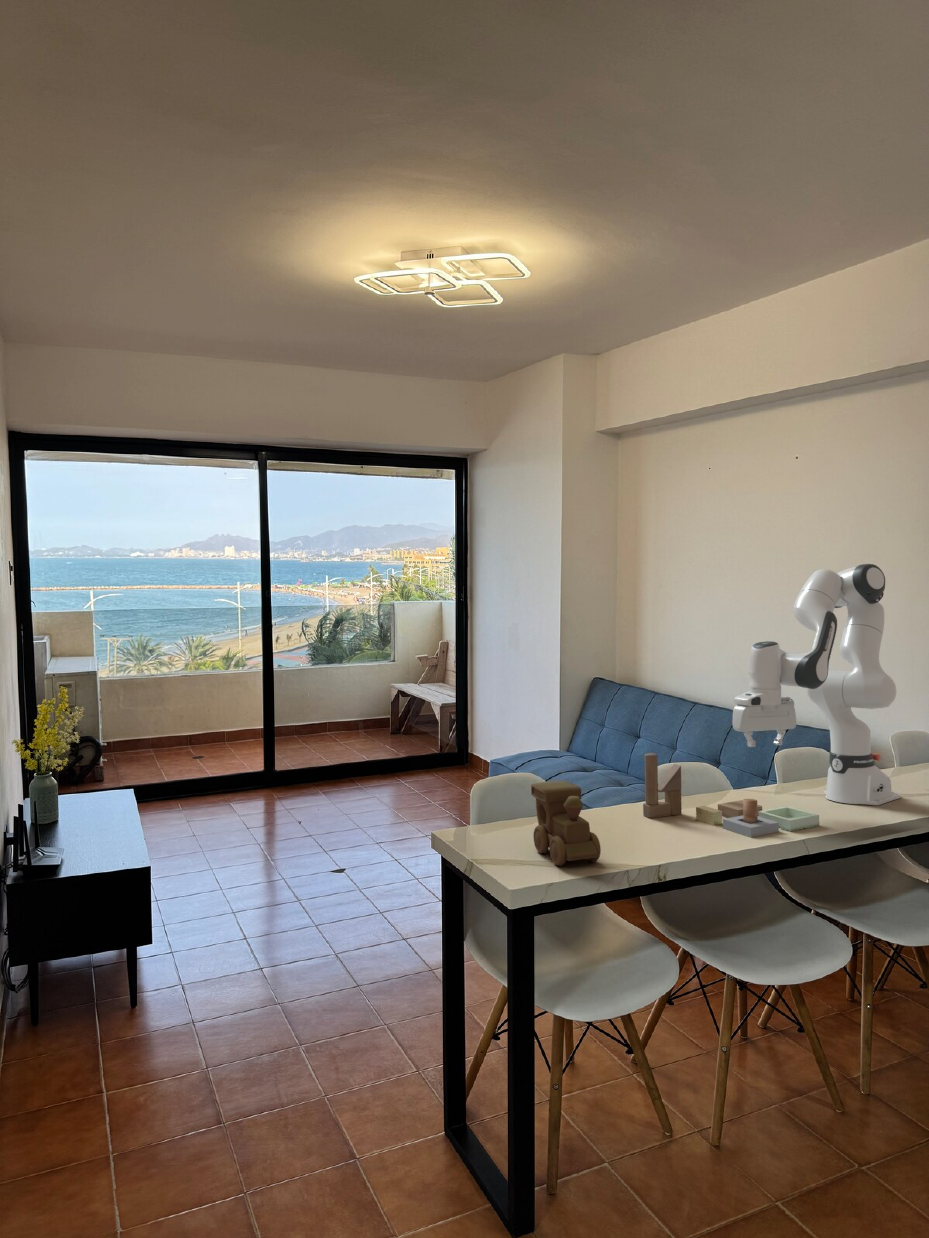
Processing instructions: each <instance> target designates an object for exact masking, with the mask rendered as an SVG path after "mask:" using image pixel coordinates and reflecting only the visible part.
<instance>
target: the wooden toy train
mask: <svg viewBox="0 0 929 1238" xmlns="http://www.w3.org/2000/svg"><path fill="white" fill-rule="evenodd" d="M530 786H531V787H530V790H531V792H530V793H531V794H530V795H531V796H532V797H533V798H535V810H536V818H537V823H538V824H537V825H536V826H535V828H534V830H533V835H532V837H533V843H534V846H535V849H536V851H537V852H538V853H539V852H540V853H539V854H542V853H544V854H545V853H547V852H548V851H549V854H550V858H551V860H552V862H553V863H554V865H555V866H559V867H562V866H563V865H565V863H566V861H567V862H572V861H580V860H587V859H588V861H590V862H592V861H595V862H597V861H598V860H599V859H600V856H601V850H602V849H601V843H600V840H599V837H598V835H596V833H594V832H592V831H591V827H590V822H589V821H587V820H586V819H585V818H583V817H582V816H580V814H581V811H582V809H583V806H584V803H583V802H582V788H581V787H580V786H578V785H576V784H575V783H572V782H570V781H567V780H553V781H543V782H536V783H530Z"/></svg>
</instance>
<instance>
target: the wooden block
mask: <svg viewBox="0 0 929 1238" xmlns="http://www.w3.org/2000/svg"><path fill="white" fill-rule="evenodd" d="M658 757H659V756H658V754H657V753H653V752H647V753H645V754H644V781H645V782H644V786H645V787H644V791H645V792H644V793H645V795H644V796H645V803H643V804H642V808H643V809H642V811H643V812H642V815H643V816H644V817H646V818H648V819H653V818H654V819H655V818H663V817H672V816H671V815H674V816H680V814H681V815H682V765H679V764H676V763H673V765H672V766H671V767H670V769H669V770H668V771H667V772H666V774H665V775H664V776H663V778H661V780H660V781H659V776H658V775H659V774H658V773H659V771H658V769H659V768H658ZM659 793H664V801H659Z"/></svg>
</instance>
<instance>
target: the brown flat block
mask: <svg viewBox="0 0 929 1238" xmlns="http://www.w3.org/2000/svg"><path fill="white" fill-rule="evenodd" d="M743 800H744V799H743ZM743 800H736V801H735V800H734V801H729V802H722V803H718V804H717V810H720V811H722V818H725V819H726V818H731V817H737V816H742V815H743ZM758 811H763V805H759V804H757V816H759V815H758Z"/></svg>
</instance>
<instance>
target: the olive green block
mask: <svg viewBox="0 0 929 1238" xmlns="http://www.w3.org/2000/svg"><path fill="white" fill-rule="evenodd" d="M695 816H696V818H695V819H696V820H698V821H700V822H703V823H706V824H709V825H712V826H717V825H723V816H722V811H720V810H718V808H717V809H716V808H713V807H709V806H706V805H700V806H696V807H695Z"/></svg>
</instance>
